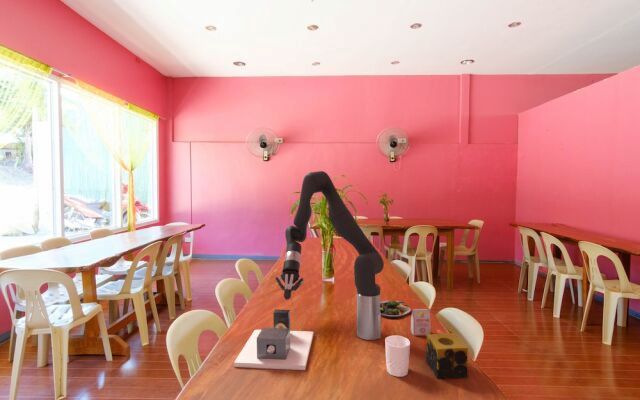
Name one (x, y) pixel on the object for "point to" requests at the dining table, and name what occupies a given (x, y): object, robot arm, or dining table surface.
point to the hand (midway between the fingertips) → (287, 299)
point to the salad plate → (393, 309)
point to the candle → (447, 356)
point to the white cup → (397, 355)
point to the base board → (294, 360)
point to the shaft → (280, 324)
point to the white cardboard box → (420, 322)
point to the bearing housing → (273, 343)
